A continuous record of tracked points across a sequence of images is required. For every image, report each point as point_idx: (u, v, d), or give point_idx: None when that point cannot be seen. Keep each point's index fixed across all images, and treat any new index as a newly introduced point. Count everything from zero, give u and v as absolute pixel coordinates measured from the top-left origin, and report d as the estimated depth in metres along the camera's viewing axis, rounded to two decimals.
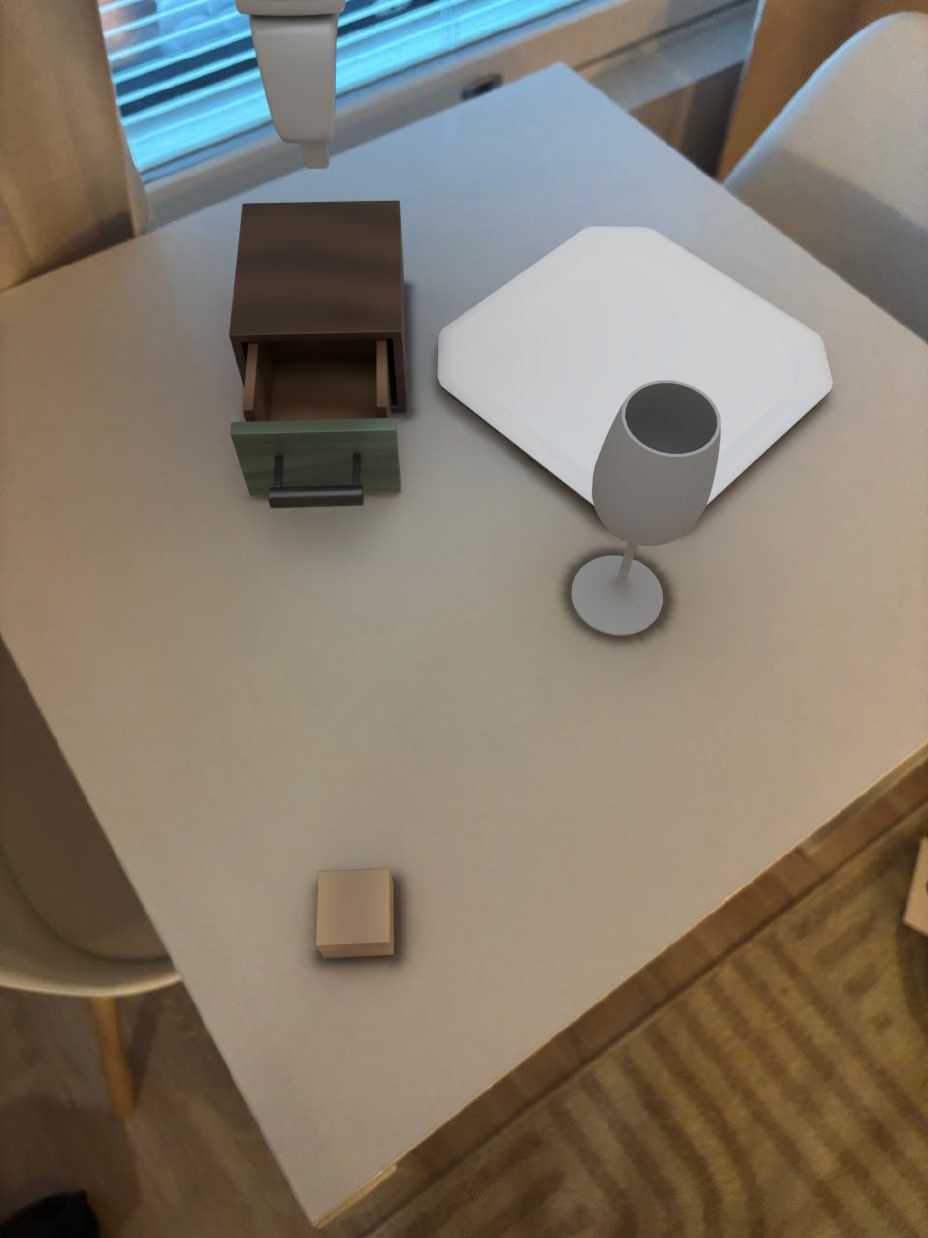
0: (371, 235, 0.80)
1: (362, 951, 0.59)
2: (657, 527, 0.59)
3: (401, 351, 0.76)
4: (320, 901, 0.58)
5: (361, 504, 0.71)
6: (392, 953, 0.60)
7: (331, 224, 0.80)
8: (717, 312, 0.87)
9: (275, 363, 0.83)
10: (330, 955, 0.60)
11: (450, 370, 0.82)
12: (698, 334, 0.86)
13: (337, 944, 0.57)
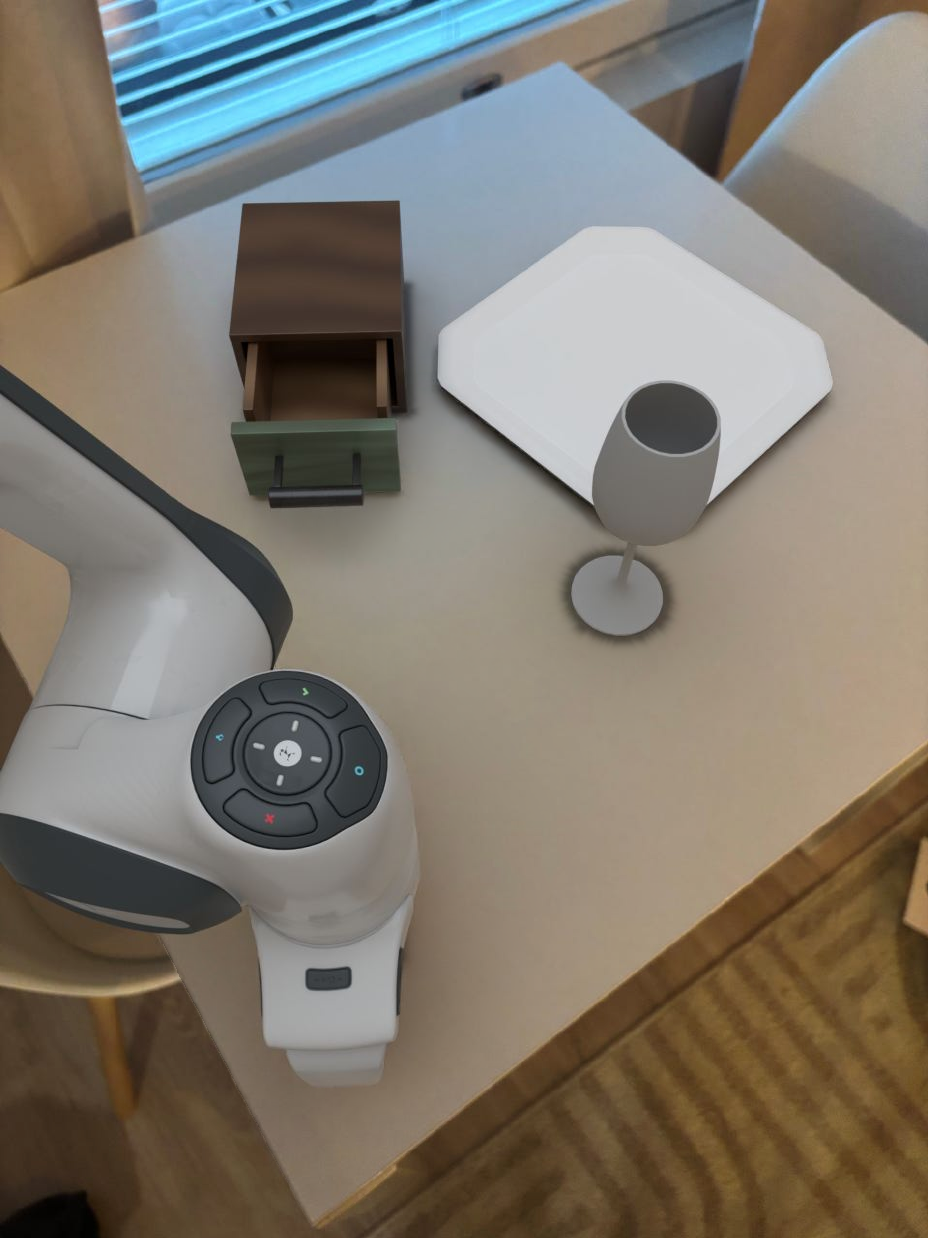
0: (371, 235, 0.80)
1: None
2: (657, 527, 0.59)
3: (401, 351, 0.76)
4: None
5: (361, 504, 0.71)
6: None
7: (331, 224, 0.80)
8: (717, 312, 0.87)
9: (275, 363, 0.83)
10: None
11: (450, 370, 0.82)
12: (698, 334, 0.86)
13: None
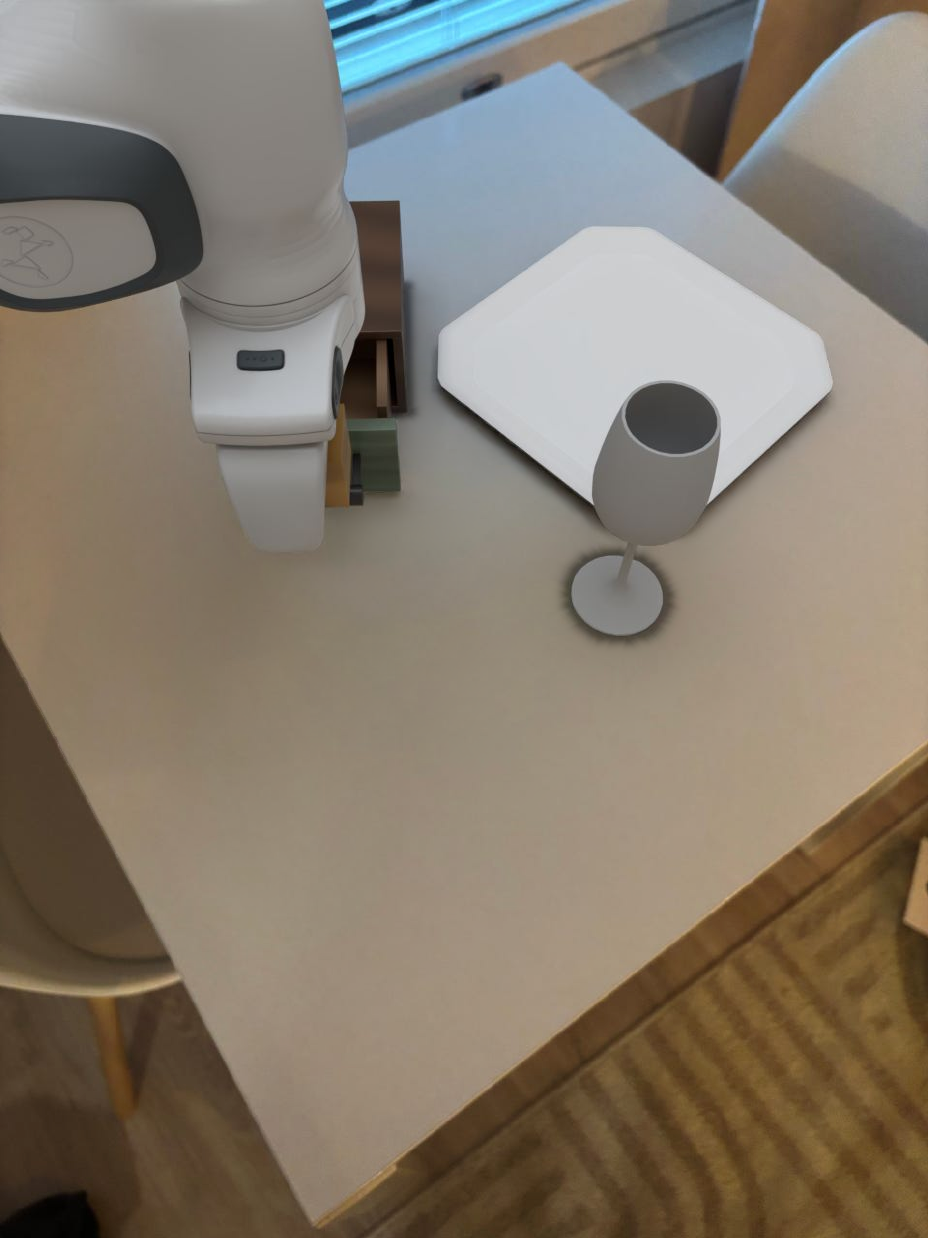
0: (371, 235, 0.80)
1: None
2: (657, 527, 0.59)
3: (401, 351, 0.76)
4: None
5: (361, 504, 0.71)
6: (347, 501, 0.58)
7: None
8: (717, 312, 0.87)
9: None
10: None
11: (450, 370, 0.82)
12: (698, 334, 0.86)
13: None
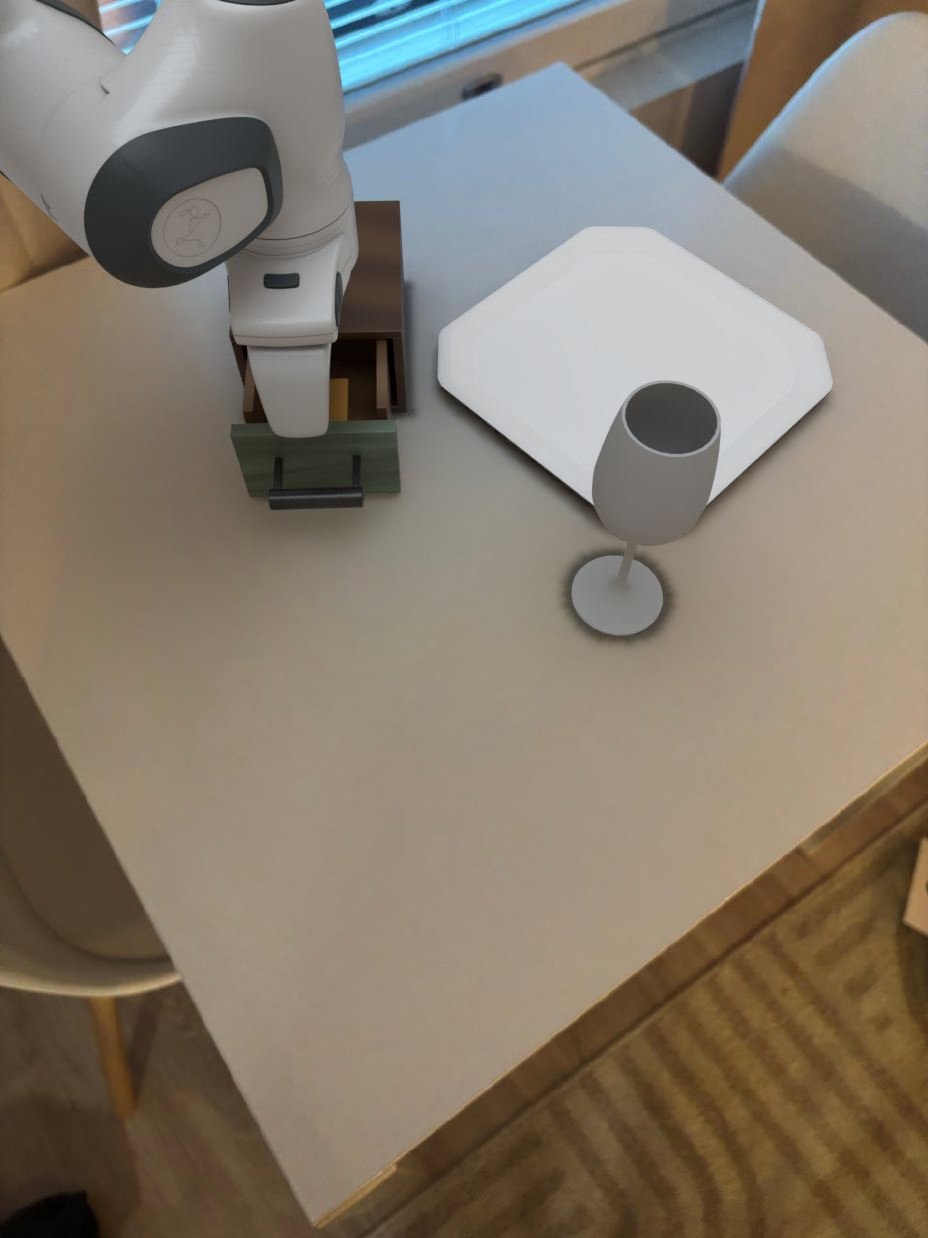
0: (371, 235, 0.80)
1: None
2: (657, 527, 0.59)
3: (401, 351, 0.76)
4: None
5: (361, 506, 0.71)
6: None
7: None
8: (717, 312, 0.87)
9: None
10: None
11: (450, 370, 0.82)
12: (698, 334, 0.86)
13: None
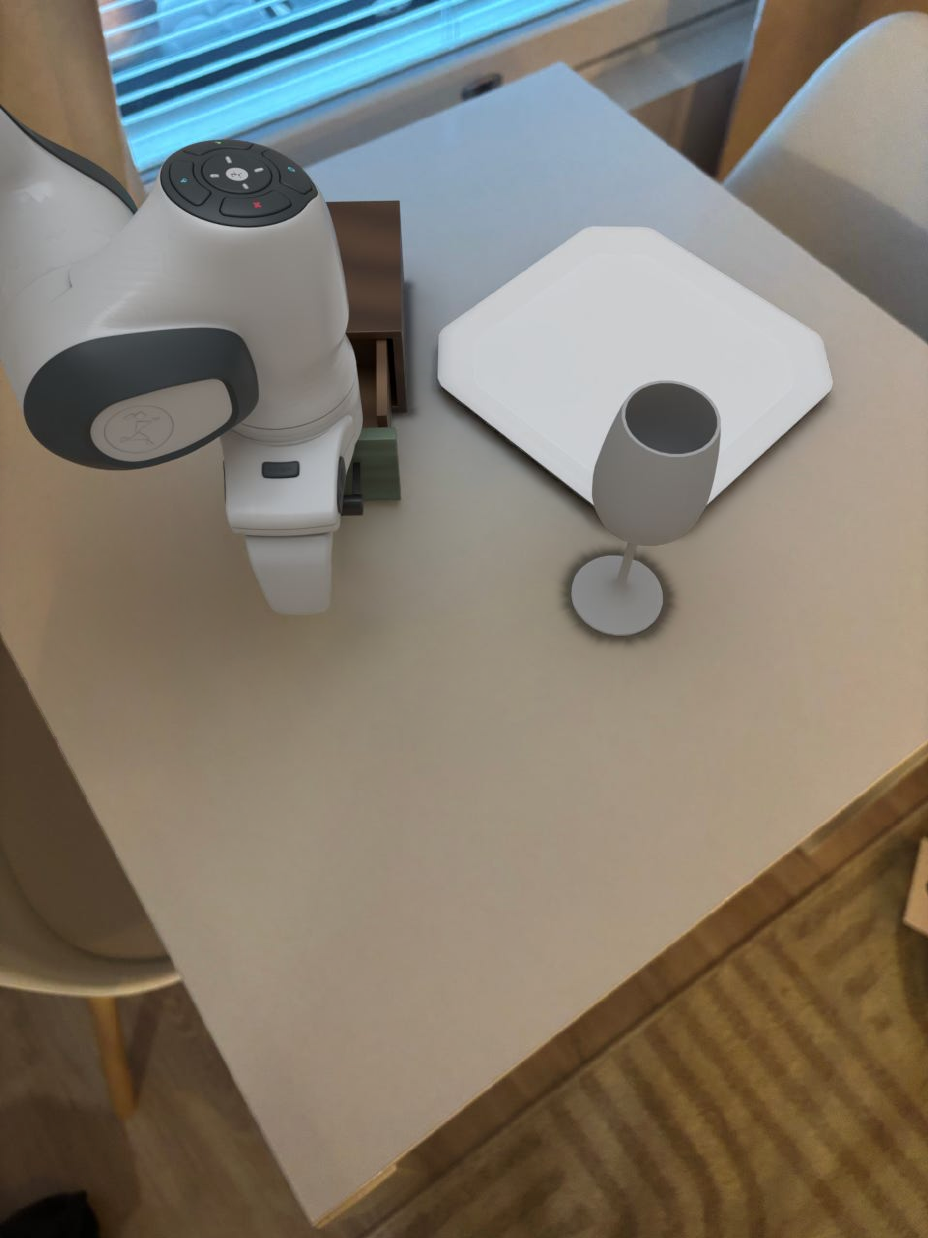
0: (371, 235, 0.80)
1: None
2: (657, 527, 0.59)
3: (401, 351, 0.76)
4: None
5: (361, 514, 0.71)
6: None
7: None
8: (717, 312, 0.87)
9: None
10: None
11: (450, 370, 0.82)
12: (698, 334, 0.86)
13: None
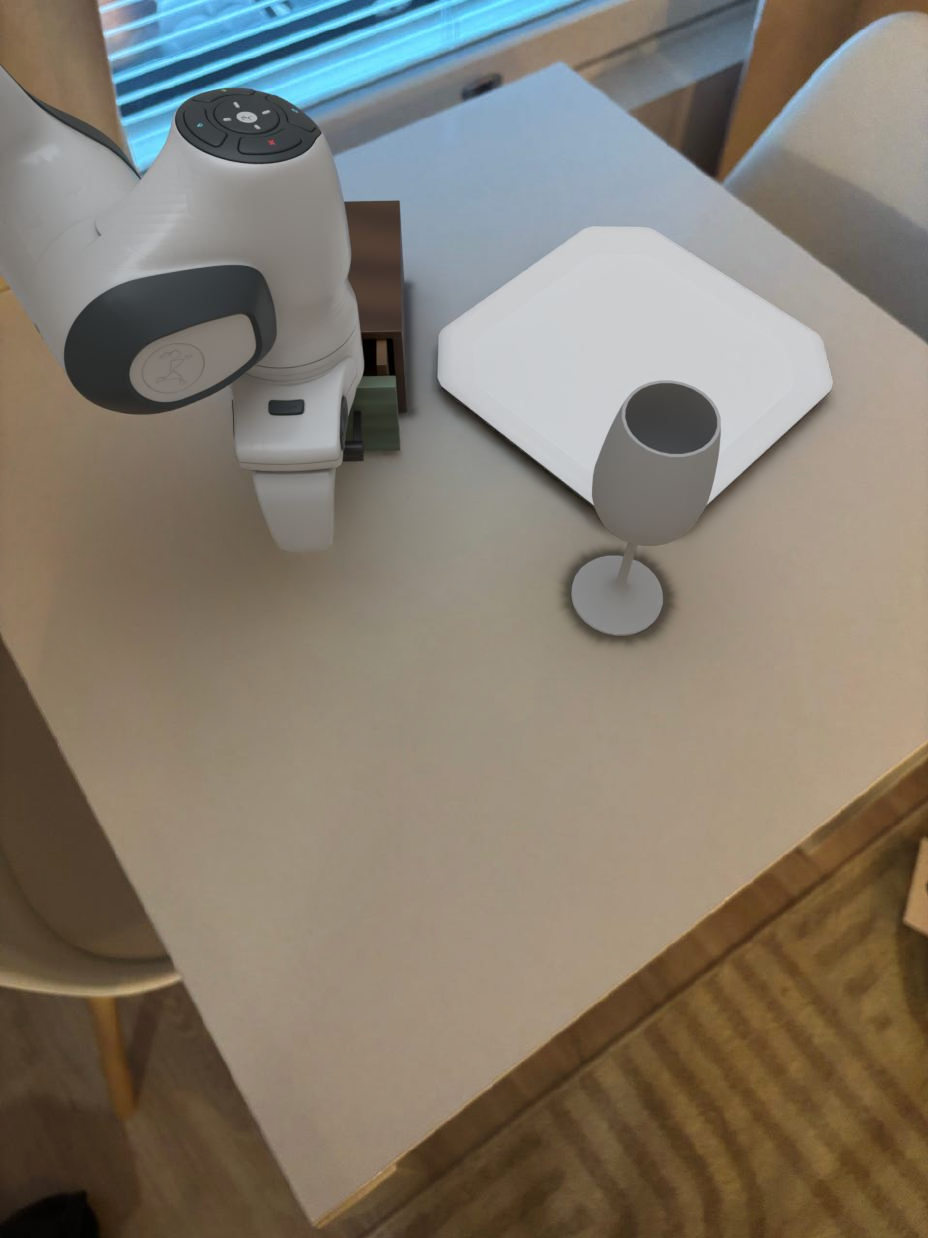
0: (371, 235, 0.80)
1: None
2: (657, 527, 0.59)
3: (401, 351, 0.76)
4: None
5: (361, 459, 0.73)
6: None
7: None
8: (717, 312, 0.87)
9: None
10: None
11: (450, 370, 0.82)
12: (698, 334, 0.86)
13: None
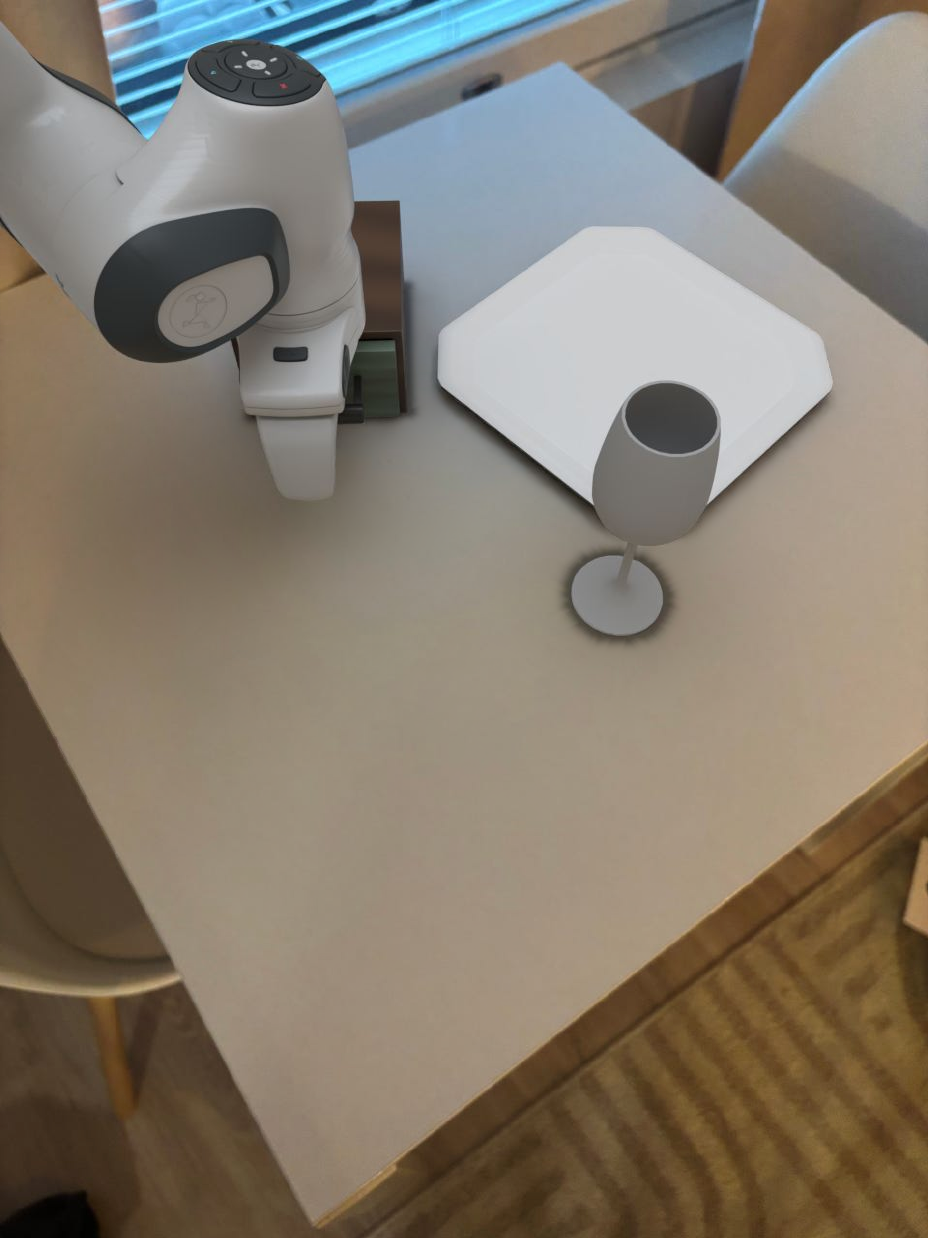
0: (371, 235, 0.80)
1: None
2: (657, 527, 0.59)
3: (401, 351, 0.76)
4: None
5: (362, 422, 0.75)
6: None
7: None
8: (717, 312, 0.87)
9: None
10: None
11: (450, 370, 0.82)
12: (698, 334, 0.86)
13: None
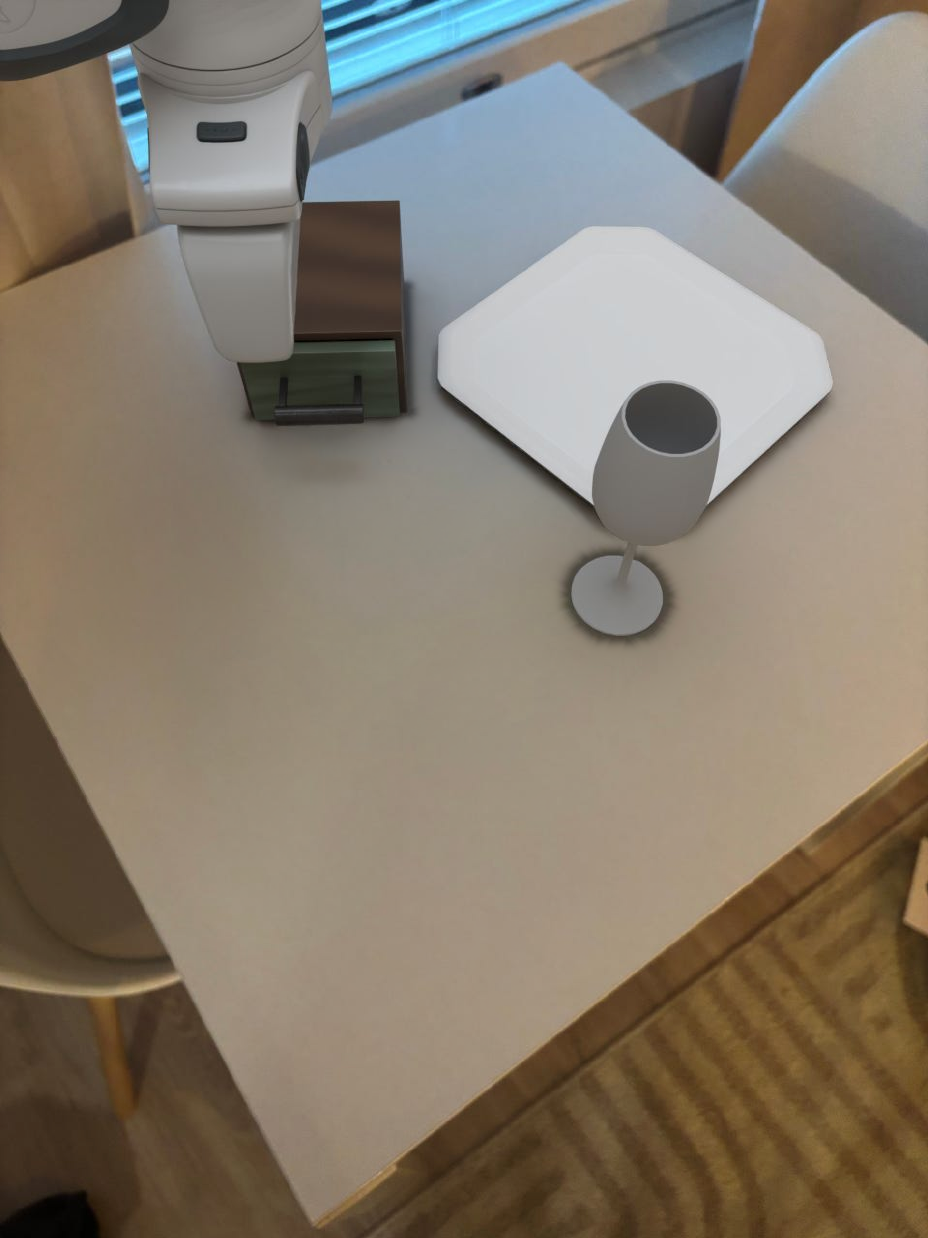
0: (371, 235, 0.80)
1: None
2: (657, 527, 0.59)
3: (401, 351, 0.76)
4: None
5: (362, 422, 0.75)
6: None
7: (331, 224, 0.80)
8: (717, 312, 0.87)
9: None
10: None
11: (450, 370, 0.82)
12: (698, 334, 0.86)
13: None
